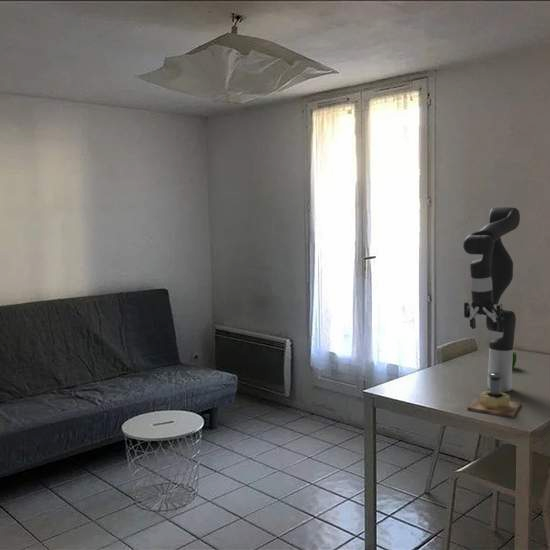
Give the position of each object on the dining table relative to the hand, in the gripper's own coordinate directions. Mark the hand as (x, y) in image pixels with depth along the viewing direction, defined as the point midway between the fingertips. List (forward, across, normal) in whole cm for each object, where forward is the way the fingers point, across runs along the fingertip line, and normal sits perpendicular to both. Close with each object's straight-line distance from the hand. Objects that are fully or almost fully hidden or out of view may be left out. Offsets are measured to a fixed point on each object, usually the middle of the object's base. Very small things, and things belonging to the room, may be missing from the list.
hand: (484, 329), depth 223 cm
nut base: (+29, -4, +4) cm, 30 cm away
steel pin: (+28, -4, +4) cm, 29 cm away
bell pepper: (+39, +15, -54) cm, 68 cm away
